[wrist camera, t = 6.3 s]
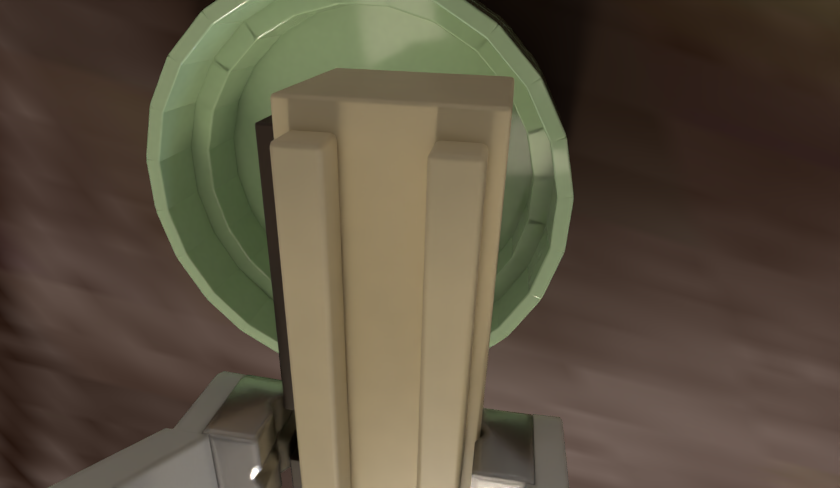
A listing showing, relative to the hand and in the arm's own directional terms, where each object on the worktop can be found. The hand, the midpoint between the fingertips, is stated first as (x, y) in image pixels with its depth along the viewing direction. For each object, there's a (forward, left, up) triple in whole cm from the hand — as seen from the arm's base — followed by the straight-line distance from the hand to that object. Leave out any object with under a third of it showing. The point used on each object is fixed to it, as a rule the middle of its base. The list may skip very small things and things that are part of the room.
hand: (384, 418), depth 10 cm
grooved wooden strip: (0, 0, -2) cm, 2 cm away
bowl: (0, -4, -17) cm, 17 cm away
